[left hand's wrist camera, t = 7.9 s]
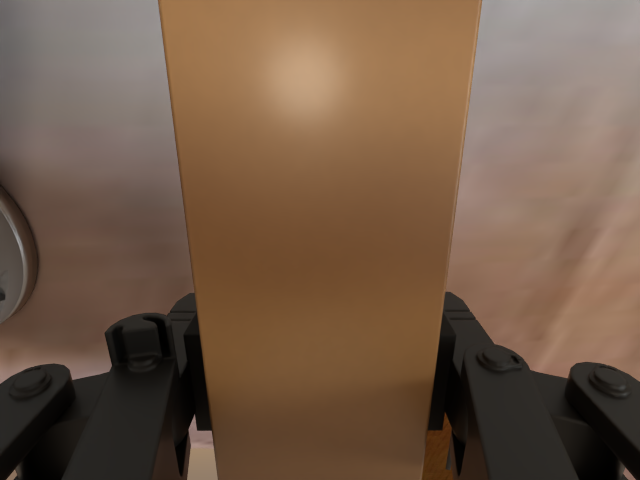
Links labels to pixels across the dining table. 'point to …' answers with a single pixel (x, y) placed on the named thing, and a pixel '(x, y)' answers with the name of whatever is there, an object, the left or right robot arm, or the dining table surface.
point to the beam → (319, 221)
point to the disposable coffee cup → (437, 454)
